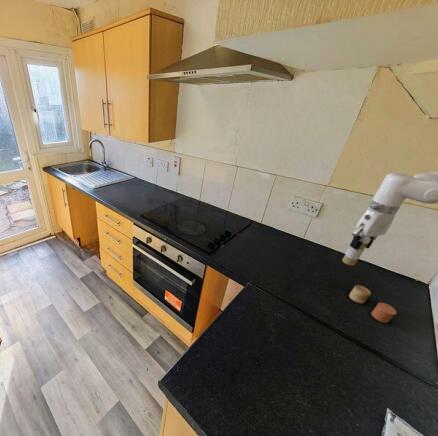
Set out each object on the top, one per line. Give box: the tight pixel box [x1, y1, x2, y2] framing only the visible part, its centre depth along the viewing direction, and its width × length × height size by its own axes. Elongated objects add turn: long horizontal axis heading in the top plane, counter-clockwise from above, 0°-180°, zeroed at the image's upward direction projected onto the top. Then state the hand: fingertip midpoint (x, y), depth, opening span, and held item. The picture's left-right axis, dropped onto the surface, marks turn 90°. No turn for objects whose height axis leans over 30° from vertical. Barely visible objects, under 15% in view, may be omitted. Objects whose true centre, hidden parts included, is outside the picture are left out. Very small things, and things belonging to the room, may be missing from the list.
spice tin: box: [348, 284, 372, 304], centre depth 93 cm, size 5×5×5 cm
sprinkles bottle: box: [341, 234, 371, 267], centre depth 93 cm, size 5×5×14 cm
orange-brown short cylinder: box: [370, 302, 397, 324], centre depth 85 cm, size 5×5×5 cm
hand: (359, 246), depth 92 cm, fingers closed on sprinkles bottle, 4 cm apart
